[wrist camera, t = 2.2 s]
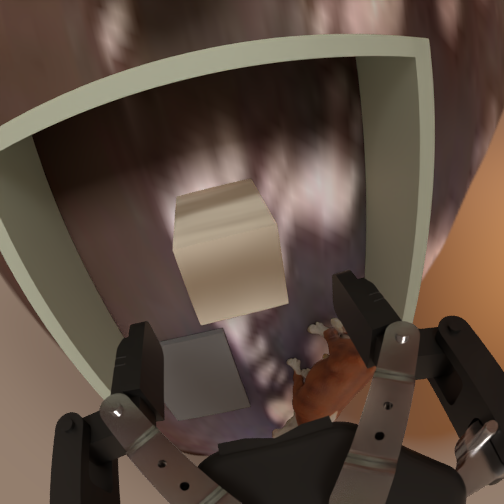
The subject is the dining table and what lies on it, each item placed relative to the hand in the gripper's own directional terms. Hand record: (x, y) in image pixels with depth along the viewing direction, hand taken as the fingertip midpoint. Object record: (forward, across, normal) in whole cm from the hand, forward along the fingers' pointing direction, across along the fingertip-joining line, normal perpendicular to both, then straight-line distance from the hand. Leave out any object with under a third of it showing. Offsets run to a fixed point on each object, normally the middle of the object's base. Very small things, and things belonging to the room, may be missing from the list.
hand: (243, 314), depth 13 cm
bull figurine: (+9, -5, +14) cm, 18 cm away
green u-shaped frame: (+8, 0, -1) cm, 9 cm away
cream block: (+8, 0, 0) cm, 9 cm away
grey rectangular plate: (+9, +6, +15) cm, 18 cm away
